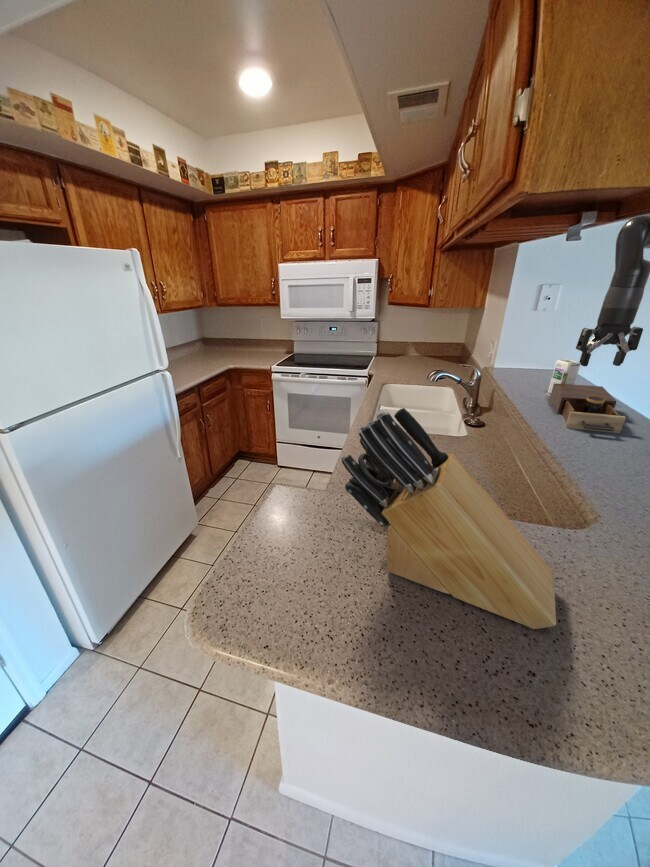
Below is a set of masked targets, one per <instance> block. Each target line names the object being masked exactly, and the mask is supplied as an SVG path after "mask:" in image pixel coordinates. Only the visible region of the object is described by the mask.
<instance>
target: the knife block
mask: <svg viewBox="0 0 650 867" xmlns="http://www.w3.org/2000/svg"><path fill="white" fill-rule="evenodd" d="M393 416H394V417H392V415H391V414H390V412H389V411H383V412H380V413H379V414H377V415H376V420H372V421H369V422H368V423H367V424H366V426H365V425H364V426H362V427H360V428H359V429H358V430H357V434H358V436H359V443H360V445H361V447H362V448H363V449H364V451H365V452H364V453H362V454H360V455H359V456H358V457H357V461H356V460H355V459H354V458H353V456H352V455H351V454H350V453H349V454H346V455H344V456H342V457H341V459H340V460H341V463H342V465H343V466H344V468H345V470H346V471H347V472H348V473H349V475H350V476H351V477H350V478H349V480H348V482H346V483H345V485H344V487H345V492H347V493H348V494H350V495H351V496H352V497H353V498H354V499H355V500H356V501H357V503H358V504H359V505H361V507H362V508H363V509H364V510H365V511H366V512H367V513H368V514H369V515H370V516H371V517H372V518H373V519H374V521H375V522H377V523H378V524H379V525H380V526H381V527H382V528H386V527H387V530H386V572H388V573H391V574H393V575H396V576H399V577H401V578H404V579H407V580H410V581H411V582H414V583H416V584H419V585H422V586H424V587H426V588H430V589H433V590H435V591H438V592H441V593H443V594H448V595H451V596H452V598H453V597H454V598H455V599H456V600H457V599H458V600H460V601H463V602H465V603H468V604H470V605H471V606H475V607H476V608H480V609H482V610H485V611H488V612H490V613H492V614H495V615H498V616H499V617H503V618H505V619H508V620H511V621H513V622H516V623H518V624H520V625H523V626H525V627H527V628H530V629H533V630H538V629H544V628H551V627H552V628H553V627H555V626H557V614H556V612H557V611H556V590H555V573H554V571H553V570H552V569H551V567H550V565H549V564H548V563H546V561H545V560H544V559H543V558H542V557H541V555H539V553H538V552H537V550H536V549H535V548H534V547H533V546H532V545H531V544H530V542H529V541H528V540H527V539H526V537H524V535H523V533H521V532H520V531H519V530H518V528H517V527H516V526H515V525H514V523H513V522H512V521H511V520H510V518H508V516H507V515H506V514H505V513H504V512H503V511H502V509H501V508H500V506H498V504H497V503H496V502H495V501H494V500H493V499H492V497H491V496H490V495H489V494H488V493H487V492H486V490H485V489H484V488H483V487H482V486H481V485H480V483H478V481H477V480H476V479H475V478H474V476H473V475H472V474H471V473H470V471H468V469H466V467H465V466H464V465H463V464H462V462H461V461H460V460H459V459H458V458H457V457H456V456H455V455H454V454H453V453H448V454H447V453H446V452H442V451H440V450H439V449H438V448H437V446H436V444H434V442H433V441H432V439H431V437H430V436H429V434H428V433H427V432H426V430H425V429H424V428H423V426H421V424H420V423H419V421H418V420H417V419H416V418H415V417H414V416H413V415H412V414H411V413H410V412H409V411H408V410H407V409H406V408H404V407H402V408H400V409H398V410H397V411H396V412H395V413H394V415H393ZM395 420H396V421H397V422H398V423H397V422H396V421H395ZM419 447H421V448H422V449H423V450H424V452H425V453H426V454H427V456H429V458H430V460H431V462H430V461H429V460H428V459H427V457H426V456H425V454H424V453H423V452H422V450H421V449H420V448H419Z"/></svg>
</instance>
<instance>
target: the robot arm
mask: <svg viewBox="0 0 650 867" xmlns="http://www.w3.org/2000/svg"><path fill="white" fill-rule="evenodd" d="M645 215H646V216H641V217H636V216H635V217H636V218H633V217H631V218H632V219H631V218H630V219H628V220H627V221H626V222H625V223H624V224H623V226H622V227H621V228H620V230H619V232H618V234H617V237H616V241H615V255H614V256H615V257H614V271H613V275H612V276H611V277H612V278H611V280H610V284H609V287H608V289H607V291H606V293H605V296H604V299H603V302H602V305H601V308H600V312H599V314H598V318H597V321H596V326H595V327H594V328H587V327H583V328H582V329H581V332H580V335H579V338H578V341H577V343H576V346H575V350H577V351H580V352H581V355H580V358H579V361H578V362H580V363H581V364H580V366H582V367H588V366H589V363H590V360H591V357H592V353H593V352H594V351H595V350H596V349H597V348H600V347H601V346H607V345H612V346H614V345H615V346H616V348H617V350H618V351H616V353H615V356H614V357H613V361H612V365H613V366H615V367H620V366H621V365H622V364H623V363H624V361H625V358H626V356H627V353H629V352H631V351H636V350H637V349H638V347H639V344H640V341H641V338H642V336H643V332H644V328H643V327H639V326H632V325H633V324H634V322H635V319H636V316H637V314H638V311H639V309H640V305H641V303H642V300H643V297H644V294H645V288H646V285H647V283H648V280H649V277H650V260H648V259H646V258H645V259H644V249H645V250H646V249H647V250H648V249H650V214H645ZM631 326H632V327H631ZM627 336H628V339H626V337H627ZM591 337H592V338H591ZM590 338H591V339H590Z"/></svg>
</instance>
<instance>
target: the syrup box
mask: <svg viewBox="0 0 650 867" xmlns="http://www.w3.org/2000/svg"><path fill="white" fill-rule="evenodd" d="M580 367H581V363H580V362H579V361H575V360H572V359H569V358H563V359H557V360H556V361H555V364H554V368H553V372H552V375H551V379H550V382H549V386H548V389H547V393H546V396H547V395H548V397H550V396H551V392H552V388H553V385H554V383H555V384H570V385H575V383H576V379H577V376H578V373H579V370H580Z"/></svg>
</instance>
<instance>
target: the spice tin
mask: <svg viewBox="0 0 650 867" xmlns="http://www.w3.org/2000/svg"><path fill="white" fill-rule="evenodd" d="M586 400H587V401H586V404H585V407H584V410H583V413H594V414H600V411H601V408H602V405H603V403H604V401H605V399H603V398H601V397H596V396H589V397H587V399H586Z"/></svg>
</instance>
